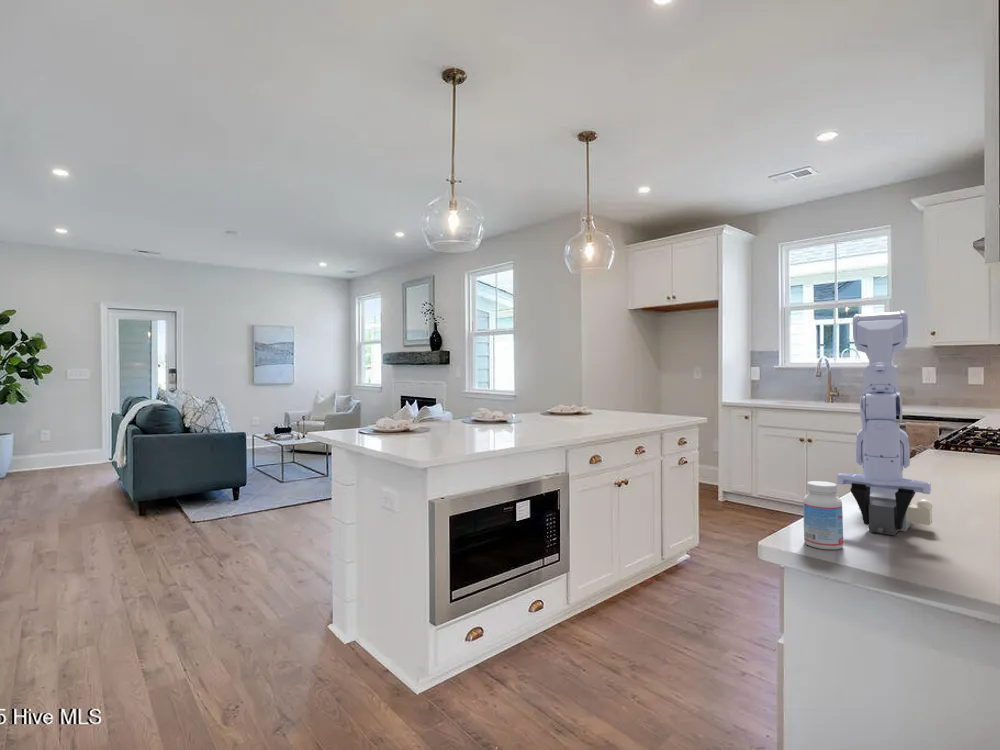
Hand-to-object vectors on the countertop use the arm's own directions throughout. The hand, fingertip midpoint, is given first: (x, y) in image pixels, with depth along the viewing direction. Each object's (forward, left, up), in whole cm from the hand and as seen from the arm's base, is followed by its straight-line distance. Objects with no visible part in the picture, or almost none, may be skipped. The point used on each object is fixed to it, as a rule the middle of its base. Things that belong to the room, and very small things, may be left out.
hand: (883, 525), depth 102 cm
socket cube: (-7, 0, -1) cm, 7 cm away
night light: (-7, +5, 0) cm, 9 cm away
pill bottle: (+15, -6, -2) cm, 16 cm away
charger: (-1, 0, -1) cm, 2 cm away
